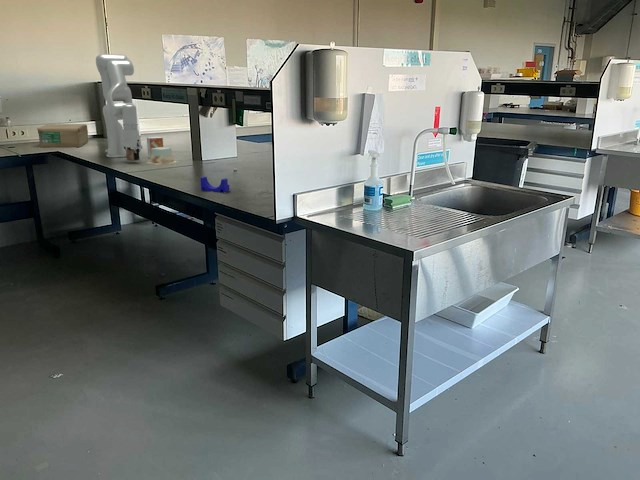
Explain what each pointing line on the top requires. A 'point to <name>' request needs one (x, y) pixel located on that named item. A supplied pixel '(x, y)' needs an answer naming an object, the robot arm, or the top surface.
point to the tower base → (161, 159)
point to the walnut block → (130, 155)
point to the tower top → (161, 151)
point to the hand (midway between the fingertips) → (133, 158)
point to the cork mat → (163, 164)
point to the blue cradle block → (207, 187)
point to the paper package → (63, 135)
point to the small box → (153, 143)
